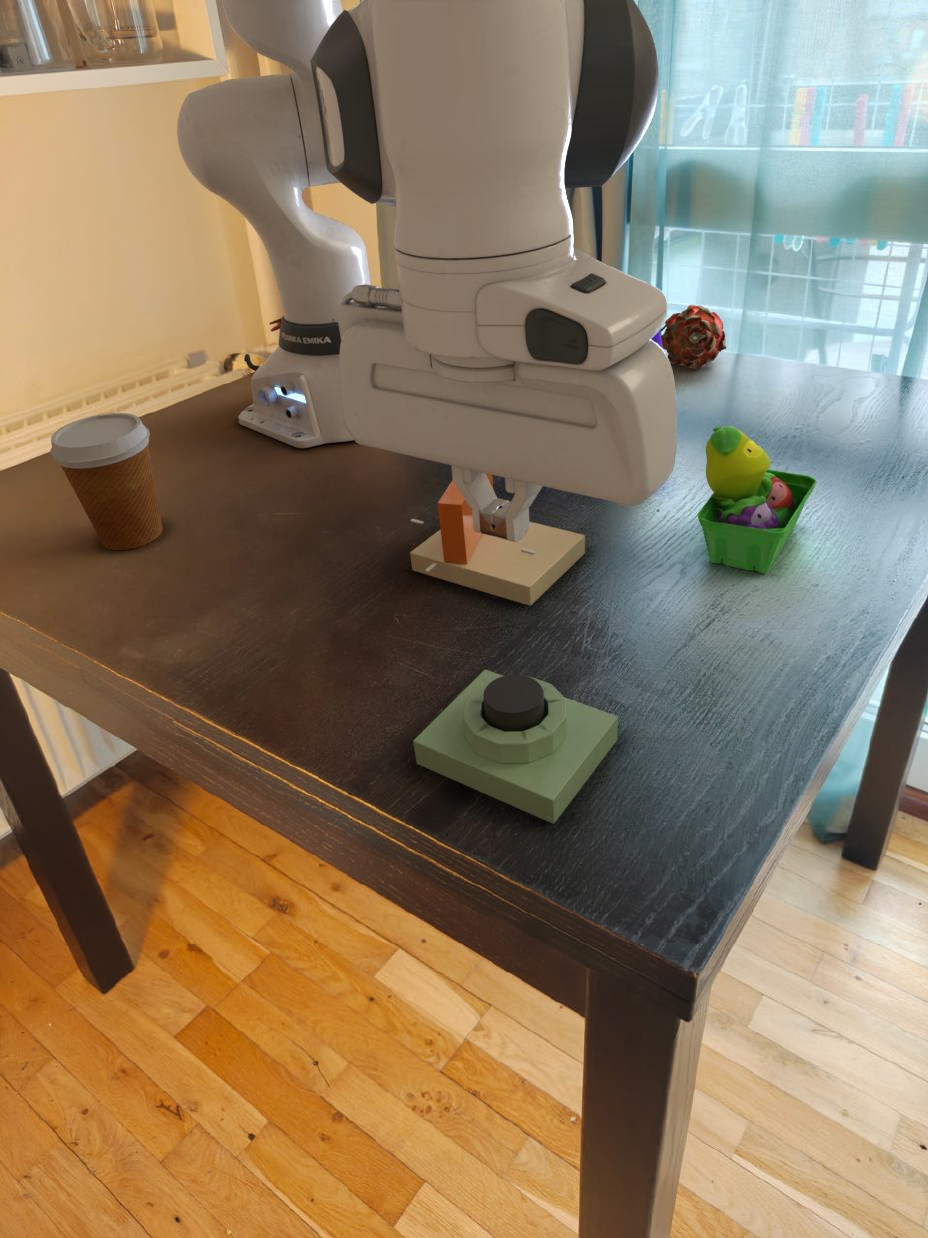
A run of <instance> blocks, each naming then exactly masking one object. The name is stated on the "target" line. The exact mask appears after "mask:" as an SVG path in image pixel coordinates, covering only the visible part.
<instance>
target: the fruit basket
mask: <svg viewBox="0 0 928 1238" xmlns="http://www.w3.org/2000/svg"><path fill="white" fill-rule="evenodd" d="M712 431H713V433H712V434H711V435H710V437H709V439H708V440H707V442H706V444H705V454H706V465H705V478H706V482H707V484H708V487H709V488H710V490H711V491H712V492H713V493H712V494H711V496H710V497H709V498H708V500H707V501H706V502H705V503H704V505H702V507H701V509H700V510H699V511H698V513H697V519H698V522H699V525H700V526H701V528H702V531H703V532H702V533H703V537H704V542H705V545H706V549H707V555H708V558H709V562H710V563H712V564H718V565H719V564H720V565H721V564H722V565H724V566H727V567H731V568H736V569H740V570H743V571H744V570H745V571H755V572H757V573H759V574H764V575H765V574H767V573H768V572H769V571H770V569H771V567H772V566H773V563H774V561H775V560H776V559H777V557H778V556H779V554H780V552H781V550H782V548H783V547H784V546H785V544H786V543H787V541H788V539H789V536H790V535H791V534H792V533H793V531H794V529H795V528H796V525H797V522H798V520H799V519H800V516H801V514H802V511H803V509H804V507H805V505H806V503H807V500H808V499H809V497H810V496H811V494H812V492H813V491H814V489H815V486H816V484H817V482H818V480H817V479H816V478H815V477H813V476H811V475H807V474H799V473H795V472H794V473H793V472H789V471H788V472H786V471H781V470H775V469H770V468H771V460H770V457H769V455H768V454H767V452H766V451H765V450H764V449H763V448H762V447H761V446H759V444H758V443H756V442H755V441H754V440H753V439H751V438H749V437H748V436H747V435H746V434H745V433H744V432H743V431H741V430H739V429H738V428H737V427H735V426H733V425H726V426H723V427H722V426H721V425H717V426H715V427H714V428H712Z"/></svg>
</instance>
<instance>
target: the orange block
mask: <svg viewBox="0 0 928 1238" xmlns="http://www.w3.org/2000/svg"><path fill="white" fill-rule="evenodd" d="M486 475H487V478H488V480H489V482H490V484H491V486H492V488H493V489H494V478H493V475H492V474H487V473H486ZM438 500H439V501H438V502H437V509H438V510H437V511H438V519H439V530H440V529H441V538H442V547H443V556H444V562H447V563H460V564H467V563H468V562H469V560H470V558H471V556H472V554H473V552H474V550H475V548H476V547H477V545H478V543H479V541H480V539H481V537H482V535H483V534H482V533H479V532H475V531H474V527H473V517H472V508H470V507H469V505H468V504H467V502H466V500H465V499H464V497H463V496H462V494H461V492H460V491H459V489H458V488H457V486H456V484H455V483H454V481H453V479H451V482H450V483H449V485H448V487H447V488H446V489H445V491H444V492H443V494H442V496H441V497H440V499H438Z"/></svg>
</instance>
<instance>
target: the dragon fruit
mask: <svg viewBox="0 0 928 1238" xmlns="http://www.w3.org/2000/svg"><path fill="white" fill-rule="evenodd" d="M663 331H664V332H663ZM661 332H663V334H661V341H662V347H663V350H664V351H666V354H667V357H668V359H669V362H670V364H673V365H674V366H679V365H683V366H684V367H685V368H688V369H693V370H699V369H702V368H703V367H704V366H705V365H708V364H711V363H712V362H714V361H715V360H716V359H717V357H718V356H719V353H720V352H722V351H723V350H726V349H727V338H726V332H725V330H724V322H723V320H722V318H721V317H720V315H718V313H717V312H715V311H711V310H710V309H709V308H707V307H704V306H703V305H696V304H689V305H688V306H687V308H686V309H685V310H683V311H681V312H676V313H672V314H671V315H670V316H669V317H668V318H666V320H665V323H664V326H663V327H662V328H661Z"/></svg>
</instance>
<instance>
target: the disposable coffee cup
mask: <svg viewBox="0 0 928 1238" xmlns="http://www.w3.org/2000/svg"><path fill="white" fill-rule="evenodd" d="M150 433H151V432H150V429H149V428H148V427H147V426H145V425H144V423H143V422H142V420H141V419H140V417H139V416H137V415H136V414H132V413H129V412H111V413H110V412H109V413H102V414H96V415H95V414H94V415H91V416H88V417H84V418H81V419H78V420H75V421H72V422H69V423H67V424H65V425H64V426H62V427H60V428H58V429H57V430H56V431H54V433H53V434H52V435H51V436H50V443H51V448H50V450H49V453H50V457H51V458H52V459H54V460H55V461H56V463H57V464H58V465H59V466H60V467H61V469H62V471H63V473H64V474H65V476H66V478H67V481H68V482H69V484H70V486H71V487H72V489H73V491H74V493H75V495H76V497H77V499H78V500H79V502H80V504H81V507H82V508H83V510H84V512H85V514H86V516H87V517H88V519H89V521H90V523H91V525H92V527H93V529H94V531H95V532H96V534H97V536H98V538H99V540H100V542H101V545H102V546H103V547H104V548H106V549H108V550H114V551H125V550H131V549H136V548H140V547H142V546H144V545H147V544H149V543H151V542H153V541H155V540H156V539H157V538H159V536H161V534H162V532H163V525H162V519H161V513H160V508H159V507H160V505H159V500H158V495H157V489H156V484H155V478H154V472H153V467H152V460H151V454H150V448H149V442H150V439H149V438H150V435H151V434H150Z"/></svg>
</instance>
